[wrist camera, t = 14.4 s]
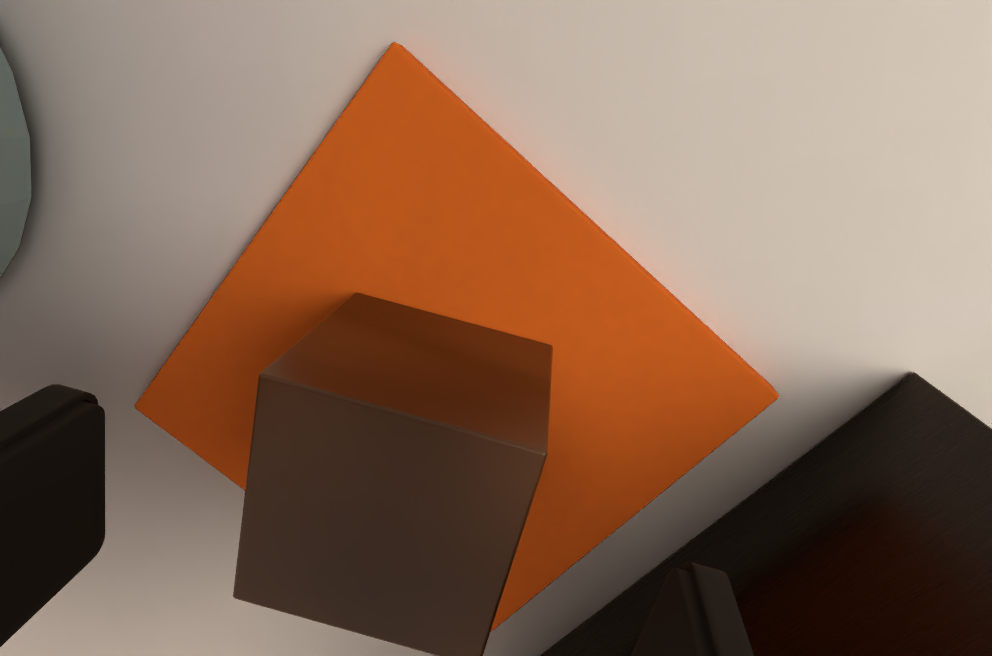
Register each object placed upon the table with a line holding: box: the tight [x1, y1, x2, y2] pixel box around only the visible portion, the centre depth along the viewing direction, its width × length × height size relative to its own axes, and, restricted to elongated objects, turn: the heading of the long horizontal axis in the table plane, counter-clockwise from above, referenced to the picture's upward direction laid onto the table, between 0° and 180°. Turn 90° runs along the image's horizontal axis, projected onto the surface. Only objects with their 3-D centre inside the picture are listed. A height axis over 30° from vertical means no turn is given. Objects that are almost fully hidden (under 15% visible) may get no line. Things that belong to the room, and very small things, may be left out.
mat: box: [135, 42, 779, 632], centre depth 16 cm, size 12×12×1 cm
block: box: [233, 293, 553, 656], centre depth 13 cm, size 5×5×5 cm
